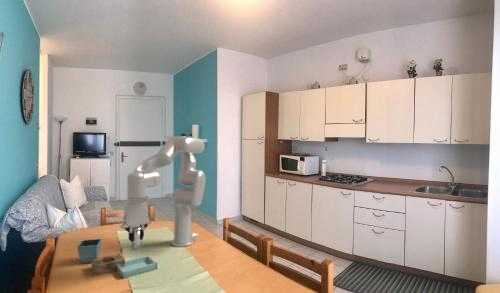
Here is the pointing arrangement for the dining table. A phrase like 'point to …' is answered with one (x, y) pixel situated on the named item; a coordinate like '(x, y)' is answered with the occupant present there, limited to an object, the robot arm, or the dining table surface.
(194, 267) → the dining table surface
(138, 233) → the pin
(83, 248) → the flower pot
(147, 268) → the tray
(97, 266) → the socket block
